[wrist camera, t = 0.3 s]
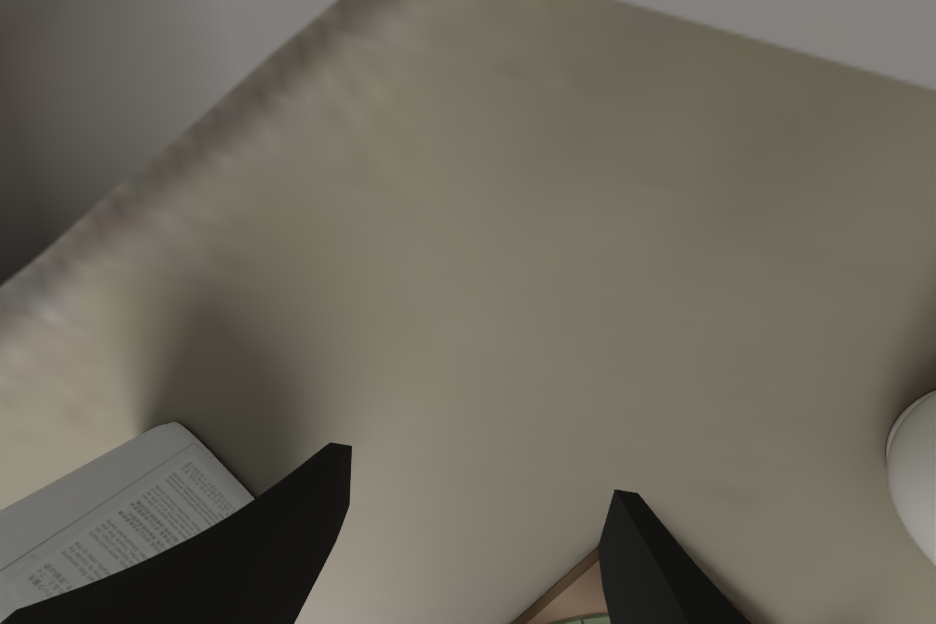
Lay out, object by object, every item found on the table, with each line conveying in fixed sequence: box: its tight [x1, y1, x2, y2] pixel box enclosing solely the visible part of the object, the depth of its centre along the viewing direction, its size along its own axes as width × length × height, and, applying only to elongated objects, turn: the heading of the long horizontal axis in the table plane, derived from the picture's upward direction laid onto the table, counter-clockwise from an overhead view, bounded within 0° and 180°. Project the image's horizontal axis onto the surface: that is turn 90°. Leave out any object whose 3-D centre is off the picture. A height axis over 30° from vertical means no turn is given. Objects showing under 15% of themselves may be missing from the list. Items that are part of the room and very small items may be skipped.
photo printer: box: [0, 422, 254, 623], centre depth 19 cm, size 10×4×12 cm, turn 41°
